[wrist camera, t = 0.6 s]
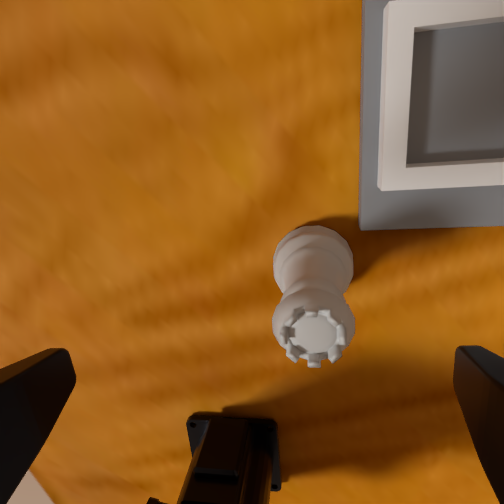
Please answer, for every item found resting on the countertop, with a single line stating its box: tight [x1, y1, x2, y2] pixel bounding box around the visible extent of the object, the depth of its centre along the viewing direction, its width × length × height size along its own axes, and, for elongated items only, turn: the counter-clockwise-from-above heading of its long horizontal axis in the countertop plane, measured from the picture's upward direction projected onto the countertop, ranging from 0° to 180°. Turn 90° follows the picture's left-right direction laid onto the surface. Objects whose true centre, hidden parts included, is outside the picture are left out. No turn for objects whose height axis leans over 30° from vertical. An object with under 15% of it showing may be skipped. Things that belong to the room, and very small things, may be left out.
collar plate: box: [358, 0, 504, 230], centre depth 16 cm, size 12×9×2 cm
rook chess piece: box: [272, 225, 355, 368], centre depth 17 cm, size 4×4×8 cm
